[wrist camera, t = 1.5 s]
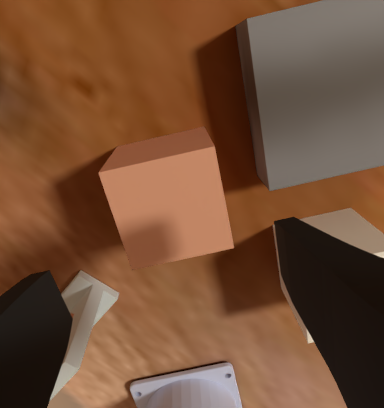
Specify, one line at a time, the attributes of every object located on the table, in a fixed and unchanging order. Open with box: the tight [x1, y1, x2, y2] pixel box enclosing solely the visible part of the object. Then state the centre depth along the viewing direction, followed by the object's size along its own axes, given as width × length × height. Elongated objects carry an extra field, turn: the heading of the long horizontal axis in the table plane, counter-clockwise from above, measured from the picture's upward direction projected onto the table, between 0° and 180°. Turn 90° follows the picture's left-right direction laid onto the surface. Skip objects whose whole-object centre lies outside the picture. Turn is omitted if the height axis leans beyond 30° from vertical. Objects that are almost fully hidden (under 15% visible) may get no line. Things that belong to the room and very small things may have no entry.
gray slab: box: [235, 0, 384, 191], centre depth 17 cm, size 8×8×3 cm
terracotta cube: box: [98, 127, 234, 270], centre depth 17 cm, size 5×5×5 cm
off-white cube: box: [273, 208, 384, 343], centre depth 19 cm, size 5×5×5 cm
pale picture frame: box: [50, 270, 119, 400], centre depth 20 cm, size 3×7×7 cm, turn 140°
